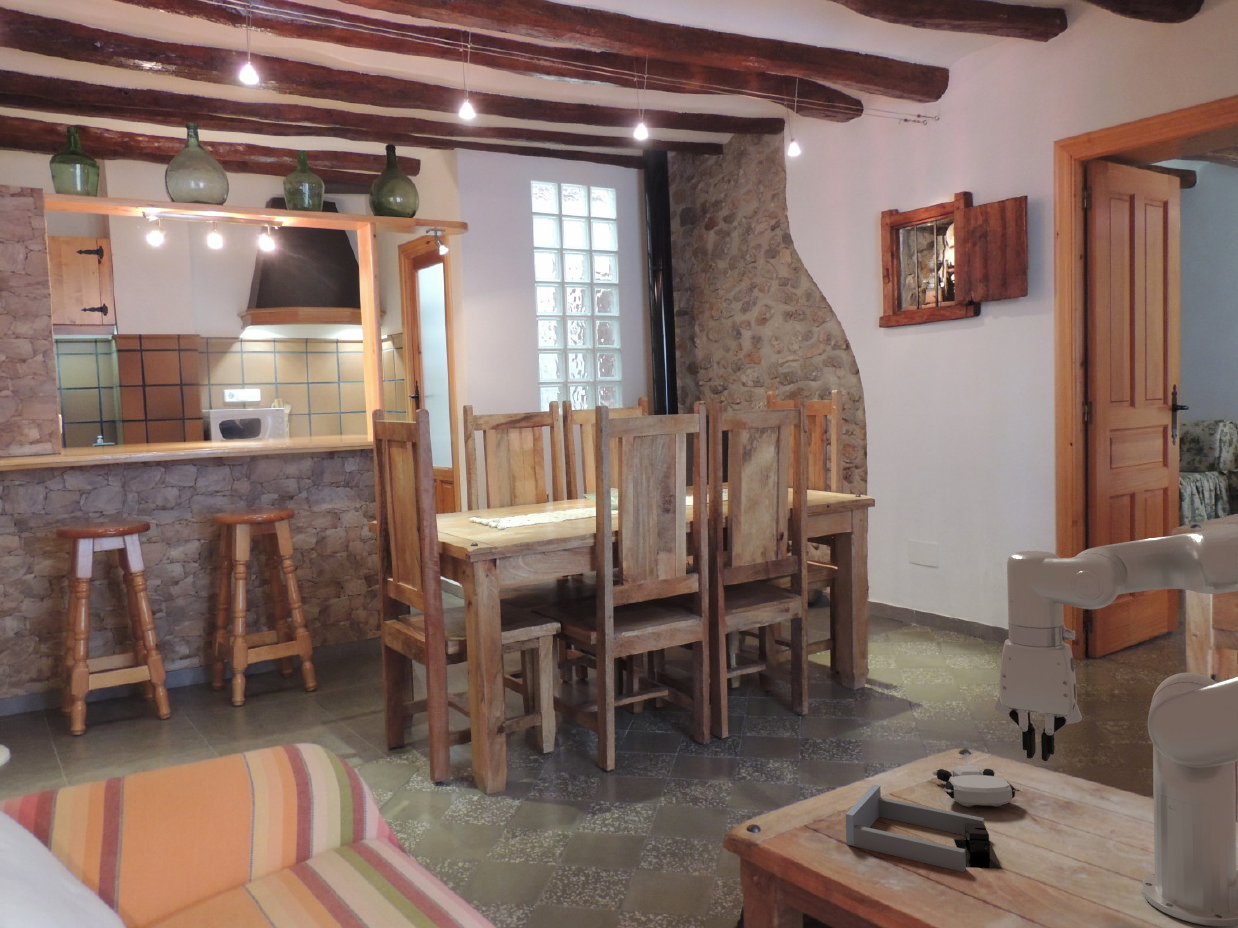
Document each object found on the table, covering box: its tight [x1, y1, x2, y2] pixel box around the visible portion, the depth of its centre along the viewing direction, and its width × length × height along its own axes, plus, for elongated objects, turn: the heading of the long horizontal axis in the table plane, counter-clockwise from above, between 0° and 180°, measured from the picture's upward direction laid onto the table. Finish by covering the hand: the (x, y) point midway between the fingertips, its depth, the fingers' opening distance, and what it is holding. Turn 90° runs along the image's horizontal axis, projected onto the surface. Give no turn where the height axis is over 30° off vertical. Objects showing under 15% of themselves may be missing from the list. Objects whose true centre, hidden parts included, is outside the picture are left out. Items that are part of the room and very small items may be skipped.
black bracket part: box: [953, 823, 1003, 870], centre depth 140 cm, size 12×7×5 cm, turn 169°
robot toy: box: [932, 764, 1023, 808], centre depth 161 cm, size 12×4×15 cm
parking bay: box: [845, 784, 985, 873], centre depth 145 cm, size 18×14×5 cm
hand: (1038, 756), depth 134 cm, fingers closed
